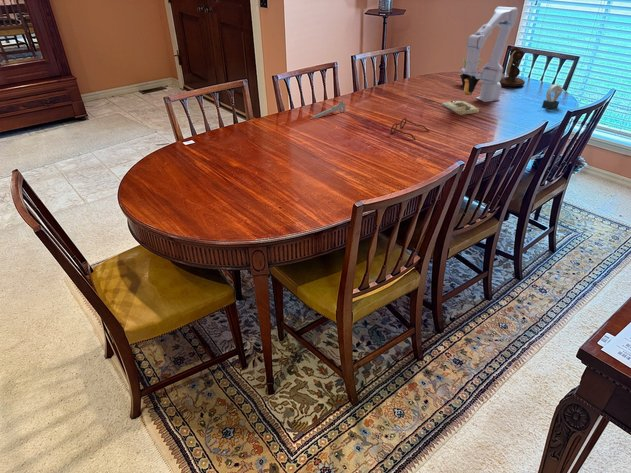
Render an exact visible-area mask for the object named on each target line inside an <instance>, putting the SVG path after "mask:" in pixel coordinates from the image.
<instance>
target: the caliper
mask: <svg viewBox="0 0 631 473" xmlns="http://www.w3.org/2000/svg"><path fill="white" fill-rule="evenodd" d="M338 111H339V112H340V113H341V112H342V113H345V112H346V103H345V102H344V100H341V101H339V103H338V104H336V105H333V106H332V107H330V108H328V109H326V110H324V111H322V112H319V113H317V114H315V115H313V116H311V117H310V118H311V119H312V120H314V119H313V118H316V119H318V118H320V117H323V116H325V115H328V114H330V113H332V112H333V113H335V112H338ZM311 119H310V120H311Z"/></svg>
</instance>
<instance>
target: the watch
mask: <svg viewBox="0 0 631 473" xmlns="http://www.w3.org/2000/svg"><path fill="white" fill-rule="evenodd" d="M563 91H564V89H563V87H562V86H561V85H559V84H552V85H551V86H549V87H548V89H547V91H546V94H545V95H546V99H545V100H543V102H542V106H541V107H542V108H544V109H549V110H554V109H558V107H559V103H560V101H558V99H559V97H561V95H562V93H563ZM552 92H553V94H554V96H553V97H552Z"/></svg>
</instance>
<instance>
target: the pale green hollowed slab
mask: <svg viewBox="0 0 631 473" xmlns="http://www.w3.org/2000/svg"><path fill="white" fill-rule="evenodd" d="M441 105H442V106H443V107H445V108H447V109H448V110H450V111H452V112H454V113H456V114H458V115H460V116H462V115H463V116H464V115H469V114H478V113H479V110H480V108H479V107H476V106H475V105H472V104H471V103H468V102H466V101H461V100H450V101H446V102H442V104H441Z"/></svg>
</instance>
